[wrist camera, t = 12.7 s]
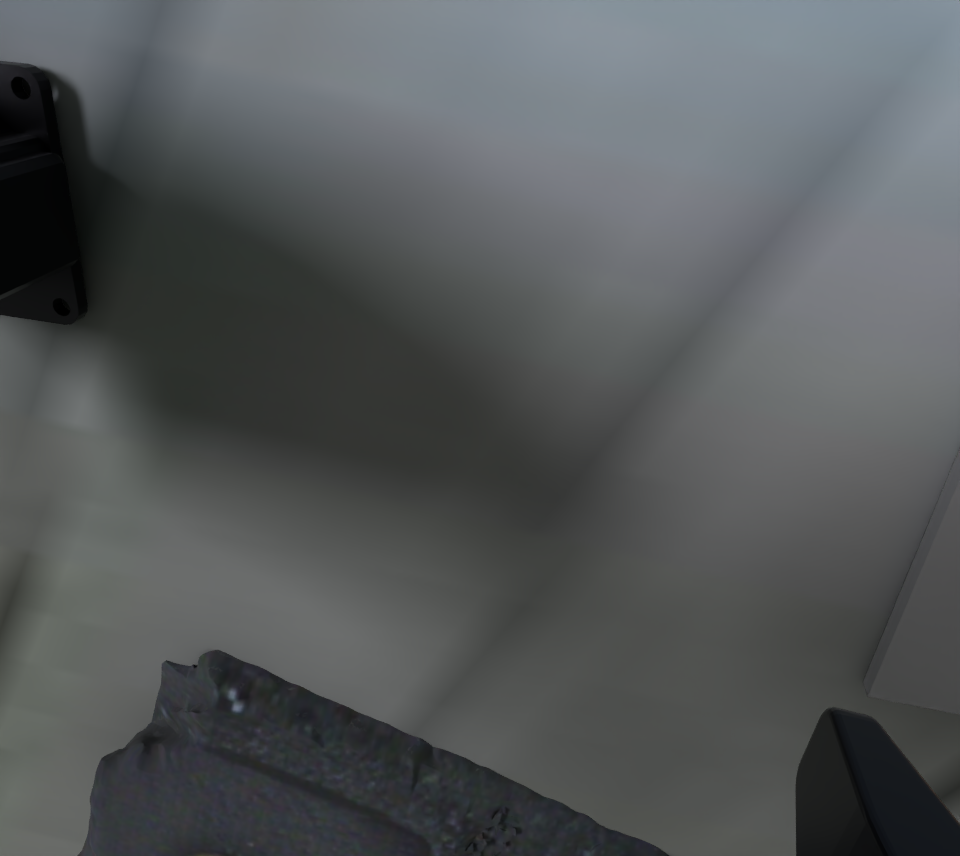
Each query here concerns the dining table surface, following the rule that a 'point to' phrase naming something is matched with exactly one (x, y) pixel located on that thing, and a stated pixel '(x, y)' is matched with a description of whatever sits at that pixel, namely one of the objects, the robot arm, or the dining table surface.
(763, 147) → the dining table surface
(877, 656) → the charcoal mat
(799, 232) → the dining table surface
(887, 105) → the dining table surface
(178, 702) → the dark slate chunk
